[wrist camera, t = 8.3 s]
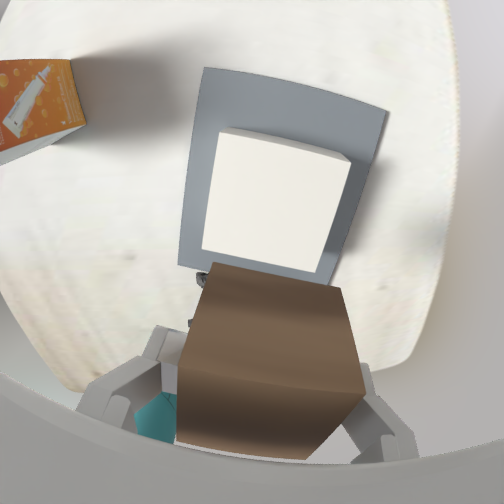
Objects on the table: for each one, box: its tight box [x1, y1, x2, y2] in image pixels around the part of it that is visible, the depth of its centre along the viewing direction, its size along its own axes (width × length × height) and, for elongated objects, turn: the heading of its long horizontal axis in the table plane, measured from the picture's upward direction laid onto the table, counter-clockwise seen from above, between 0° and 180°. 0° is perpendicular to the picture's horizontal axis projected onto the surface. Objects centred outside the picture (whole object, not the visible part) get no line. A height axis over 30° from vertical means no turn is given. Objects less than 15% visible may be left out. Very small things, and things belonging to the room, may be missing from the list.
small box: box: [0, 59, 87, 166], centre depth 18 cm, size 8×6×13 cm
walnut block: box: [176, 262, 366, 460], centre depth 10 cm, size 5×5×5 cm
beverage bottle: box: [134, 391, 177, 444], centre depth 32 cm, size 6×7×20 cm
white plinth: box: [202, 127, 351, 273], centre depth 25 cm, size 10×10×4 cm
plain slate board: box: [178, 67, 386, 285], centre depth 27 cm, size 20×16×1 cm
